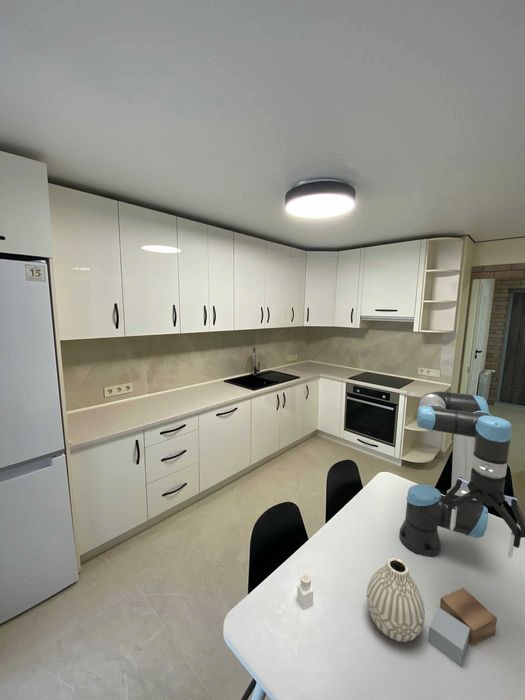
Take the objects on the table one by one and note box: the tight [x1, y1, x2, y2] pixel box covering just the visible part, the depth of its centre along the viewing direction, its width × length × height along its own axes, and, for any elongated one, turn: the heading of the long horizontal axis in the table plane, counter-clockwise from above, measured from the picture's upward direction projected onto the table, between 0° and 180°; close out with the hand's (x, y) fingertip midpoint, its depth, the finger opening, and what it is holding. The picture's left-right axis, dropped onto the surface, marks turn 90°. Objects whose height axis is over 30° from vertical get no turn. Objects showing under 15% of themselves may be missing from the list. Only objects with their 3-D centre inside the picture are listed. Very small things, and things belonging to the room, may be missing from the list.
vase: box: [366, 557, 426, 643], centre depth 86 cm, size 16×16×20 cm
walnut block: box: [439, 587, 498, 647], centre depth 88 cm, size 10×10×6 cm
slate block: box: [427, 606, 470, 668], centre depth 82 cm, size 8×8×6 cm
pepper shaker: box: [296, 573, 314, 610], centre depth 93 cm, size 4×4×10 cm
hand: (479, 540), depth 84 cm, fingers open, 13 cm apart
